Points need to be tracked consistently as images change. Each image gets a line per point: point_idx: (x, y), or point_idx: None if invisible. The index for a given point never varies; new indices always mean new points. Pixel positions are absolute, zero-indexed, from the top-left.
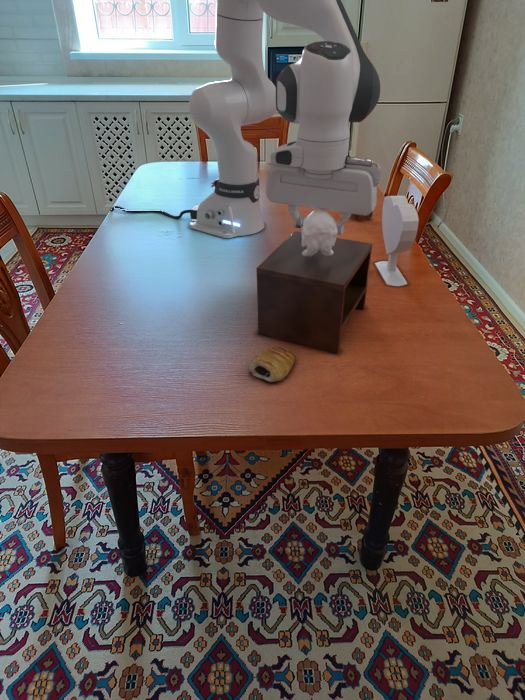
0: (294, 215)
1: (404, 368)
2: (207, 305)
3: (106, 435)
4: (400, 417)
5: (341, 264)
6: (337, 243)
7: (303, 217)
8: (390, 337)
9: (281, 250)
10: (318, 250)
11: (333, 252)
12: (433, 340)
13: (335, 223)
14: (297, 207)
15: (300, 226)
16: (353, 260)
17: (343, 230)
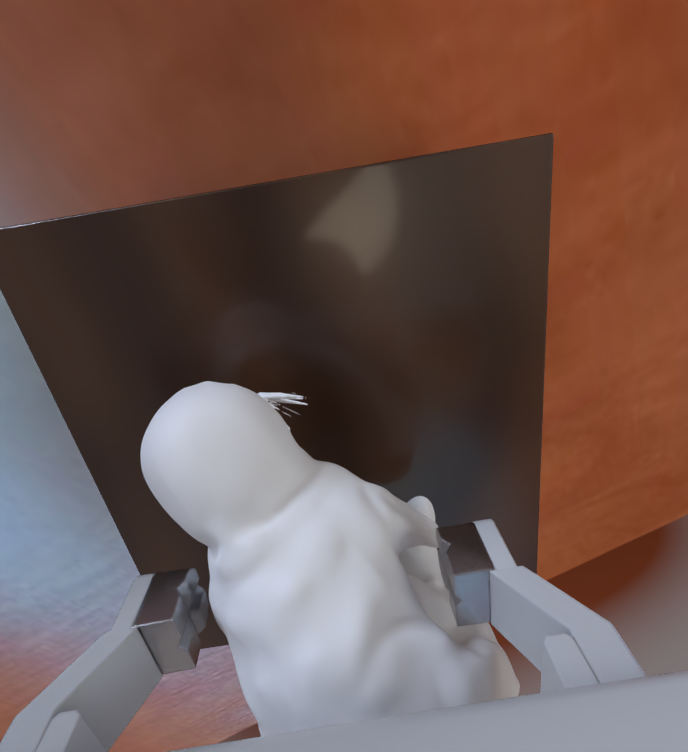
0: (132, 713)
1: (611, 392)
2: (5, 432)
3: (229, 735)
4: (620, 520)
5: (468, 476)
6: (341, 265)
7: (172, 627)
8: (556, 288)
9: (138, 501)
10: (295, 409)
11: (432, 506)
12: (679, 232)
13: (497, 690)
14: (97, 749)
15: (204, 622)
16: (508, 414)
17: (494, 525)
